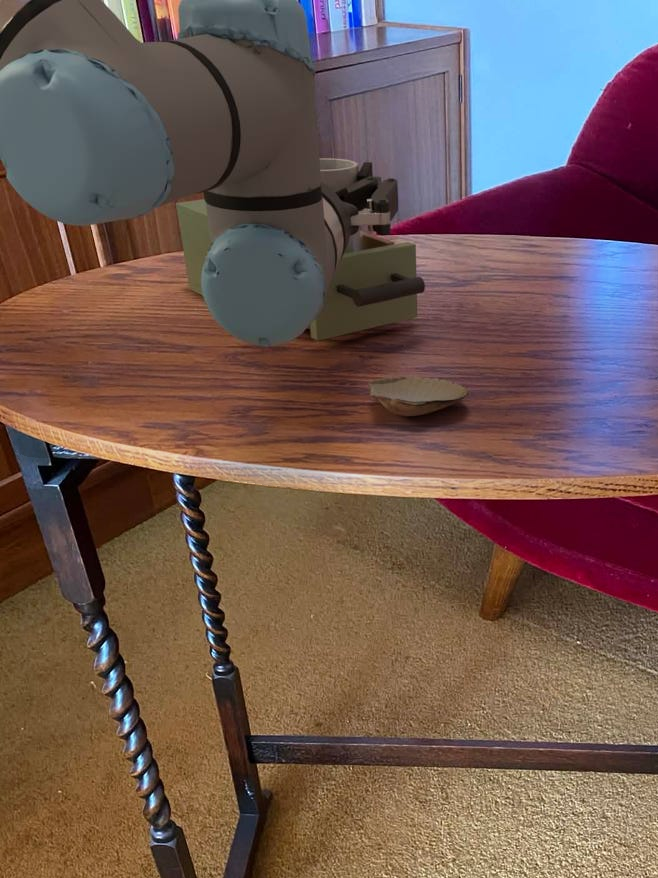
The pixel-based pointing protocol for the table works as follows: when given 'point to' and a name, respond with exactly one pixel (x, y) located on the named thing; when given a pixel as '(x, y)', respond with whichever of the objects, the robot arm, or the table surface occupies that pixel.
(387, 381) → the seashell
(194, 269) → the cabinet
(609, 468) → the table surface
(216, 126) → the robot arm
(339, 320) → the drawer
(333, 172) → the canister
